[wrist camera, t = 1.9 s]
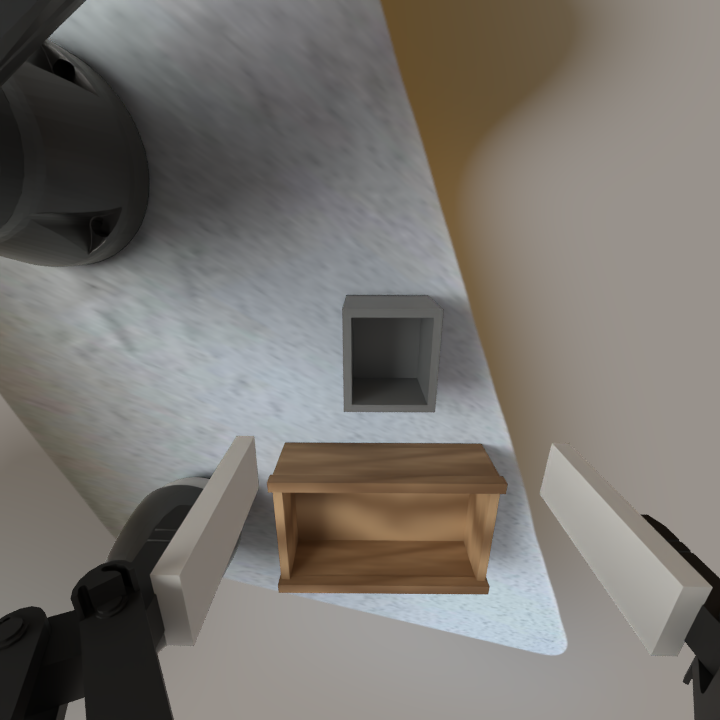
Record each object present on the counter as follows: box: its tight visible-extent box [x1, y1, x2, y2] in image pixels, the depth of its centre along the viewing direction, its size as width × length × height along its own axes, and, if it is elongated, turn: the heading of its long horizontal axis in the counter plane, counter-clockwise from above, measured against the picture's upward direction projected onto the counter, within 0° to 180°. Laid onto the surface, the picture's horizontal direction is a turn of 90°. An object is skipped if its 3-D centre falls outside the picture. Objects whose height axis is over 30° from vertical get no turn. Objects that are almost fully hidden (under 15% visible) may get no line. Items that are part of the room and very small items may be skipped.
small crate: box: [342, 295, 444, 412], centre depth 28 cm, size 8×7×6 cm
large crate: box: [267, 443, 508, 594], centre depth 34 cm, size 13×20×6 cm, turn 90°
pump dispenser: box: [105, 477, 242, 654], centre depth 30 cm, size 10×10×15 cm
